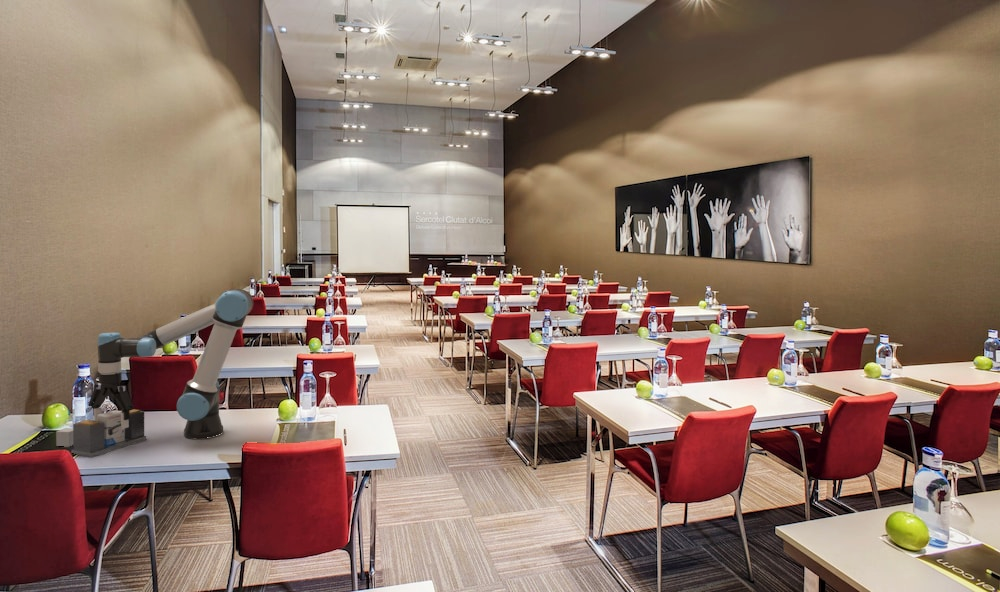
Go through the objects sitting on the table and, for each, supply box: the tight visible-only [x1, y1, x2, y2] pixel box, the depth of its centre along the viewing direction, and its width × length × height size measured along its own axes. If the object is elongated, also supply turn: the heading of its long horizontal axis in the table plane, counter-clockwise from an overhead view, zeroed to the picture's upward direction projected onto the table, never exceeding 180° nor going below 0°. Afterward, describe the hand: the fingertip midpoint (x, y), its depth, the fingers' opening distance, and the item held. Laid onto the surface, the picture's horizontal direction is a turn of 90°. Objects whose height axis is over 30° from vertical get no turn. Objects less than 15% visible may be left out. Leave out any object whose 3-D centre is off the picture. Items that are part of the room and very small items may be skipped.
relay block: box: [55, 427, 73, 448], centre depth 241 cm, size 5×5×6 cm
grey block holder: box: [71, 408, 147, 458], centre depth 241 cm, size 10×24×12 cm, turn 163°
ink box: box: [97, 410, 125, 446], centre depth 241 cm, size 8×5×12 cm, turn 165°
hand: (111, 426), depth 241 cm, fingers open, 13 cm apart
